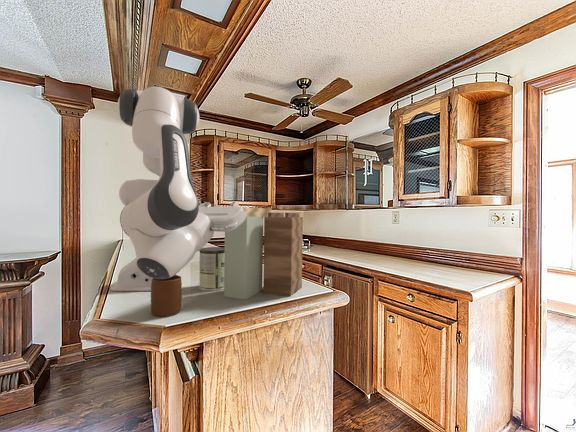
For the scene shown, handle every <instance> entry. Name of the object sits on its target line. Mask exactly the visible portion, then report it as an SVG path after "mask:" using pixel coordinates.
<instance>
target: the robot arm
mask: <svg viewBox="0 0 576 432" xmlns="http://www.w3.org/2000/svg"><path fill="white" fill-rule="evenodd" d="M117 112H118V114H119V117H120V120H121V121H122V122H123V123H124V124H125V125H128V126H129V127H131V135H132V142H133V143H134V146H136V148H137V149H138V150H140V151H141V152H142V163H143V166H144V167H145V168H146V170H148V171H149V172H150V173H153V174H154V175H157V176H158V177H159V178H158V179H144V178H143V179H141V178H137V179H130V180H125V181H124V182H123V183H122V184H121V186H120V188H119V191H118V194H119V195H118V196H119V200H120V201H121V203H122V204H123V205H124V207H123V209H122V210H121V212H120V215H119V223H120V226H121V229H122V231H123V232H124V234H126V236H128V238H129V239H130V241H131V243H132V245H133V248H134V251H135V255H136V256H135V258H134V259H133V260H131V261H130V262H129V263H127V264H126V265H125V266H123V267H122V268H121V269H120V270H119V273H118V276H117V280H116V281H114V282H113V283H112V284H110V285H109V290H110V291H112V292H114V291H115V292H117V291H118V292H123V291H124V292H125V291H128V292H136V291H137V292H145V291H147V292H149V291H150V292H151V283H152V278H155V279H168V278H170V277H172V276H174V275H175V274H176V275H177V276H178V273H179V272H180V271H181V270H182V269H184V268H185V266H187V265H188V263H190V262H191V260H193V258H194V257H195V255H196V253H197V252H200V251H199V250H201V249H202V248H205V245H207V244H208V242H209V241H211V239H213V237H214V234H215V232H224V233H225V232H229V231H232V230H234V229H236V228H237V227H238V226H239V225H240V224H242V223H243V222H244V220H245V219H246V216H245V212H244V209H243V208H242V206H240V205H239V202H238V201H233V202H231V203H230V206H212V205H211V202H210V201H205V202H204V203H202V204H199V199H198V198H199V197H198V195H197V192H196V189H195V185H194V182H193V175H192V169H191V160H190V151H189V146H188V141H187V138H186V135H190V134H192V133H194V132H195V131H196V129H197V127H198V126H199V123H200V112H199V109H198V105H197V104H196V102H195V101H193V100H191V99H189V98H186V97H184V98H183V97H180V96H177V95H174V94H173V93H172V92H171V91H170V90H169V89H167V88H164V87H162V86H150V87H149V86H148V87H147V88H145V89H143V90H138V88H126V89H124V90H123V91H121V92H120V95H119V97H118V99H117Z"/></svg>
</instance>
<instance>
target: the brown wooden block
mask: <svg viewBox="0 0 576 432" xmlns="http://www.w3.org/2000/svg"><path fill="white" fill-rule="evenodd" d="M303 219H304V218H303V216H300V212H285V213H284V212H271V213H268V217H263V279H262V291H263V293H264V294H268V295H269V294H271V295H276V296H278V295H280V296H285V295H286V296H287V297H292V296H293V295H295V294H296V293H297V292H298V291H299V290H300V289H302V287H303V286H302V285H303V233H304V231H303V230H304V229H303V228H304V227H303V225H304V224H303V223H304V220H303ZM291 295H292V296H291Z"/></svg>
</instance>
